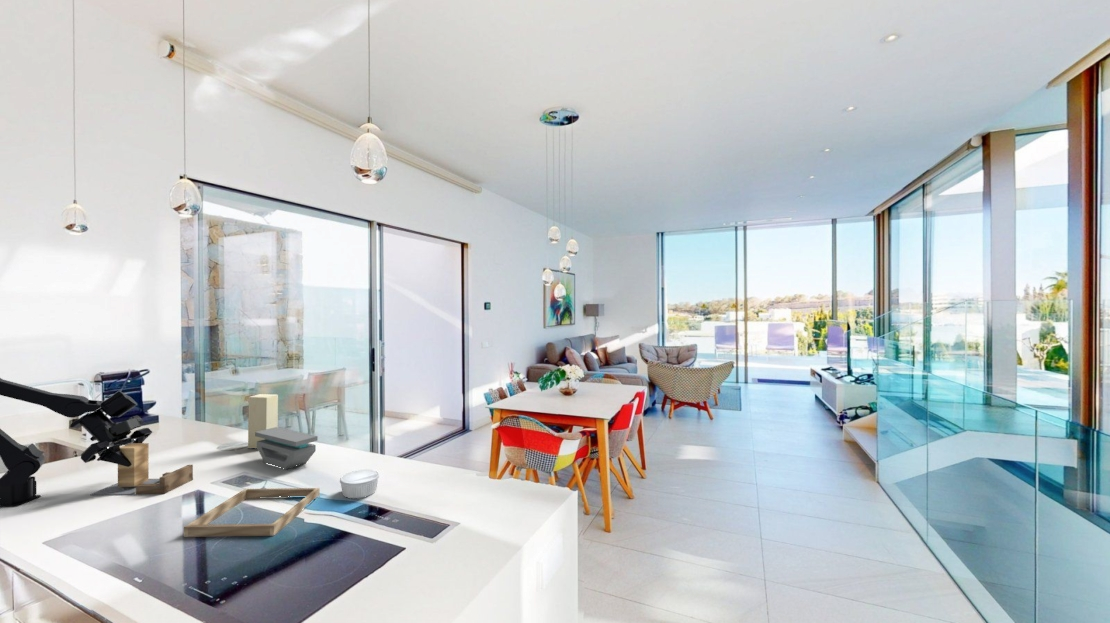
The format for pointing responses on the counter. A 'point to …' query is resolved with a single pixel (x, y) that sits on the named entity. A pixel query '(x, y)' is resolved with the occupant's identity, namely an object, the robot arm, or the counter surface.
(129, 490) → the charcoal rubber mat
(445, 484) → the counter surface
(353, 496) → the ramekin
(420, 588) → the counter surface
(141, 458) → the teak block
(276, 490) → the oak frame
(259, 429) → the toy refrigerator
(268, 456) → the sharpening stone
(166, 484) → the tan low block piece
